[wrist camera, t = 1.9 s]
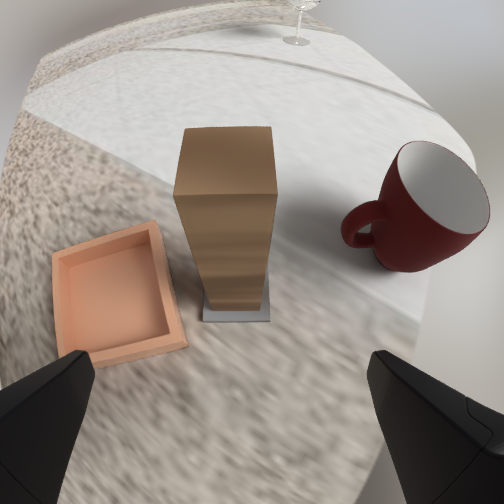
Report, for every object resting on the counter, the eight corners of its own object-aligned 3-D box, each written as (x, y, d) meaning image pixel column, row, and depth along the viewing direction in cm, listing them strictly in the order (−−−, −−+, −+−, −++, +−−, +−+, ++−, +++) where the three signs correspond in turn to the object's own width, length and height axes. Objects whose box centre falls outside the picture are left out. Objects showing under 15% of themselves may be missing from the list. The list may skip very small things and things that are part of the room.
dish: (189, 346, 22) (182, 340, 19) (76, 372, 20) (60, 368, 18) (162, 235, 26) (155, 219, 24) (65, 265, 24) (52, 253, 22)
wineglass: (276, 44, 44) (280, -14, 33) (279, 32, 47) (284, -20, 36) (315, 49, 43) (323, -9, 33) (314, 37, 46) (322, -15, 36)
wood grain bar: (269, 321, 23) (302, 212, 10) (203, 322, 22) (148, 214, 9) (267, 261, 25) (287, 116, 12) (205, 262, 25) (170, 119, 12)
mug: (346, 313, 23) (403, 258, 14) (313, 227, 26) (342, 144, 17) (440, 279, 24) (506, 224, 15) (406, 208, 28) (451, 139, 19)
